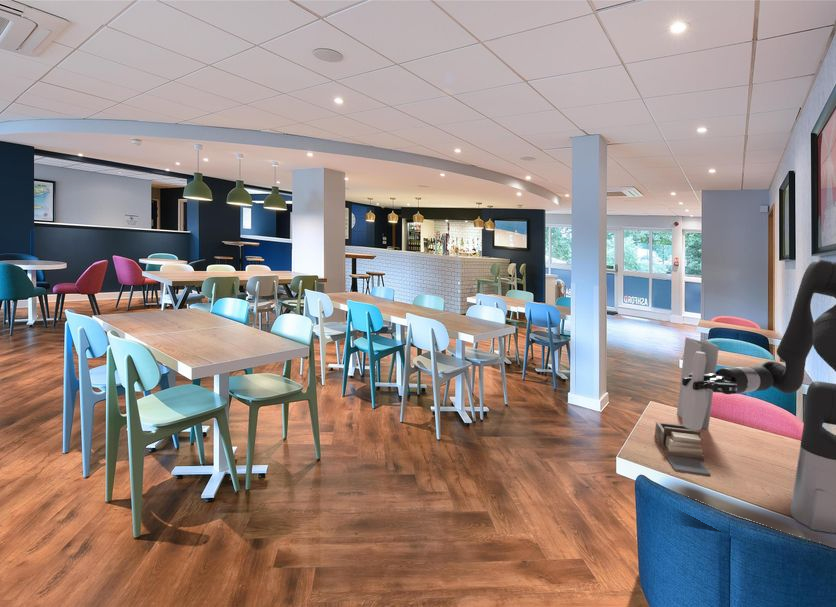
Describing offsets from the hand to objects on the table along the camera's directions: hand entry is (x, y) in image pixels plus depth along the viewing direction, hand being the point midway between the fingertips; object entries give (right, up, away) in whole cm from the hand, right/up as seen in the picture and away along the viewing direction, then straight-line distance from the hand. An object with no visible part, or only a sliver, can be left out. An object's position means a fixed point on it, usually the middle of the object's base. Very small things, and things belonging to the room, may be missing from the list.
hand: (688, 383), depth 128 cm
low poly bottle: (+2, -13, +3) cm, 14 cm away
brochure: (+24, -21, +38) cm, 50 cm away
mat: (+2, -25, +4) cm, 25 cm away
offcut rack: (+6, -23, +16) cm, 29 cm away
